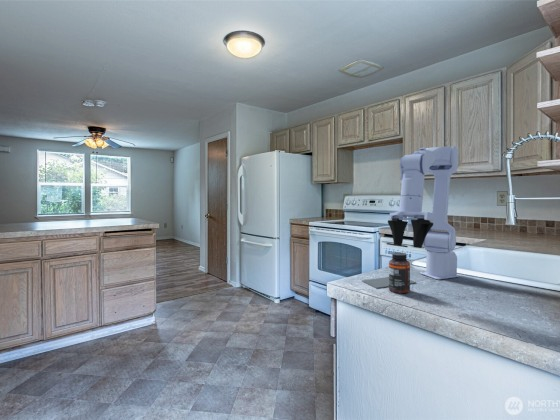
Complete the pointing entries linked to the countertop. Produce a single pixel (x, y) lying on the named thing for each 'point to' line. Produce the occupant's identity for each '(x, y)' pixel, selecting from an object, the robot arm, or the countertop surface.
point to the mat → (380, 282)
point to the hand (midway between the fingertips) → (407, 246)
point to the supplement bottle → (399, 273)
